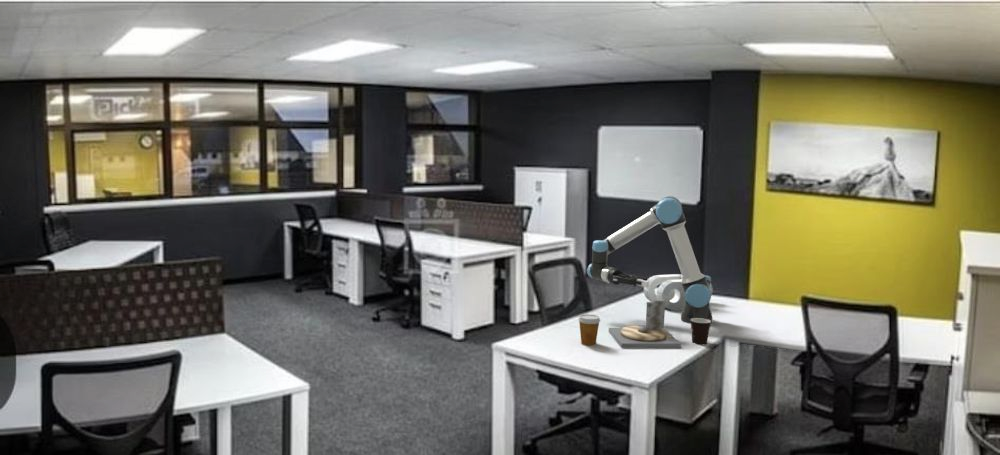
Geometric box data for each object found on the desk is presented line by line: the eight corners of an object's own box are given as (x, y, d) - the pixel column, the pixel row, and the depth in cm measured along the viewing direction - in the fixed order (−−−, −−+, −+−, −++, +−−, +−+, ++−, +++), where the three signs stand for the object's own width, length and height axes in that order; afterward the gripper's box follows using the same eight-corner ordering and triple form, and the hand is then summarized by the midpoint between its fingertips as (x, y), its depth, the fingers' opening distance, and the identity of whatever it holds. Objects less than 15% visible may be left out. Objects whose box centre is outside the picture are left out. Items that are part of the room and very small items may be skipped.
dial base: (663, 331, 334) (663, 327, 334) (680, 347, 309) (681, 342, 308) (608, 331, 333) (608, 326, 332) (621, 348, 307) (621, 342, 307)
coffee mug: (706, 346, 312) (707, 324, 310) (686, 343, 316) (688, 321, 315) (713, 340, 321) (715, 318, 320) (694, 337, 326) (695, 315, 325)
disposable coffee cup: (603, 343, 313) (604, 316, 312) (590, 347, 306) (591, 320, 305) (586, 339, 320) (586, 312, 318) (573, 343, 313) (573, 316, 311)
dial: (643, 343, 307) (644, 310, 305) (611, 332, 323) (612, 301, 321) (679, 336, 319) (680, 304, 317) (646, 326, 335) (647, 295, 333)
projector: (661, 310, 377) (662, 282, 375) (643, 302, 395) (644, 275, 393) (717, 306, 388) (719, 279, 386) (697, 299, 406) (699, 273, 404)
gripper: (622, 282, 350) (657, 291, 330) (602, 284, 342) (637, 294, 323) (622, 266, 349) (658, 275, 329) (602, 269, 341) (638, 277, 322)
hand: (647, 284), depth 326 cm, fingers closed
